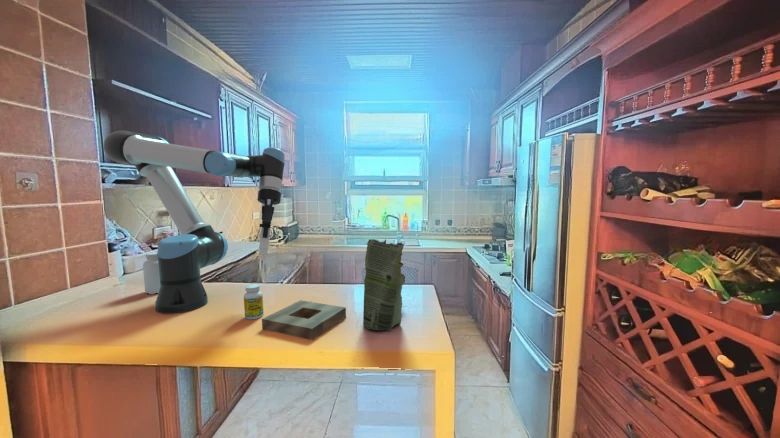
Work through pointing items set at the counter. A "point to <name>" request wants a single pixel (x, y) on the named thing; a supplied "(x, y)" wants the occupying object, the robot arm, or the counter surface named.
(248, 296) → the supplement bottle
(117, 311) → the counter surface
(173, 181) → the robot arm
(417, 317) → the counter surface
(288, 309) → the frame
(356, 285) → the counter surface
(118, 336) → the counter surface
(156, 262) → the pill bottle
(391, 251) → the pouch
